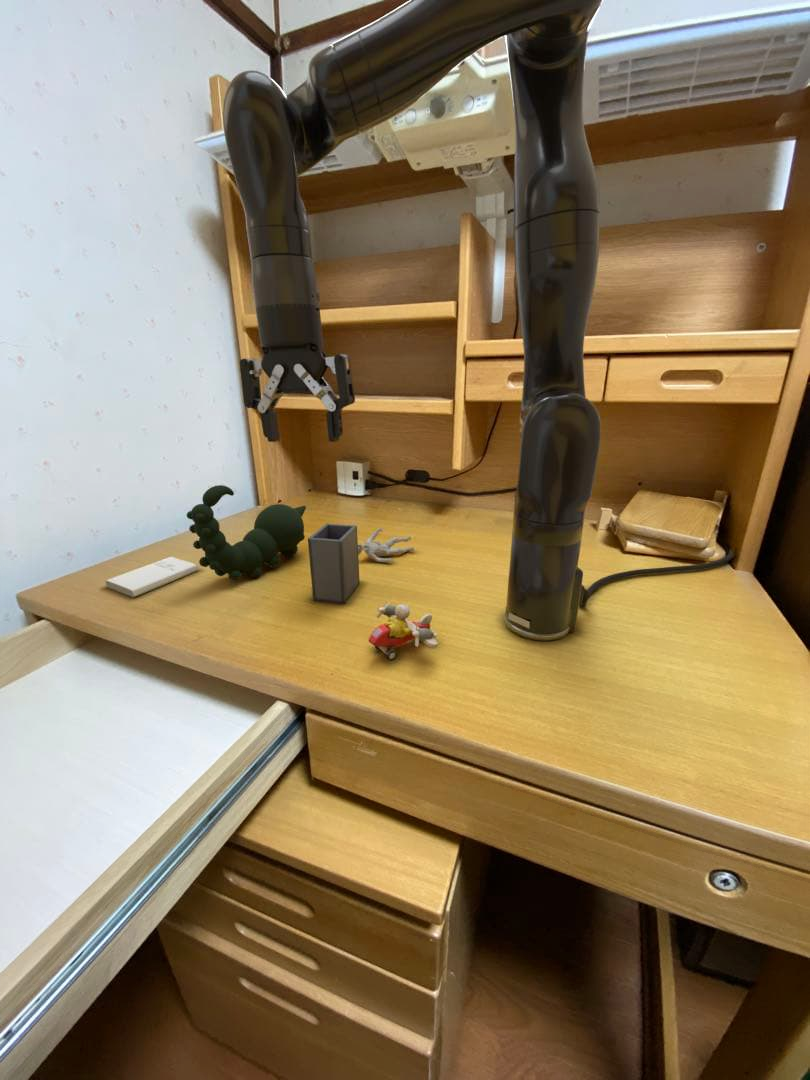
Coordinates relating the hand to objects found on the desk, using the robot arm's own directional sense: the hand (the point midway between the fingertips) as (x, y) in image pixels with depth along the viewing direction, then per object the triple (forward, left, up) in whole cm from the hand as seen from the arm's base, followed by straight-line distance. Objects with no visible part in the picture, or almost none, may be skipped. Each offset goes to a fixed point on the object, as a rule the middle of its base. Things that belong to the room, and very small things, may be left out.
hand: (304, 440), depth 61 cm
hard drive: (+30, -20, -27) cm, 45 cm away
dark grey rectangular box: (-4, -12, -22) cm, 25 cm away
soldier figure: (-13, -23, -27) cm, 38 cm away
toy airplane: (-12, +9, -27) cm, 31 cm away
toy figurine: (+11, -22, -27) cm, 36 cm away
